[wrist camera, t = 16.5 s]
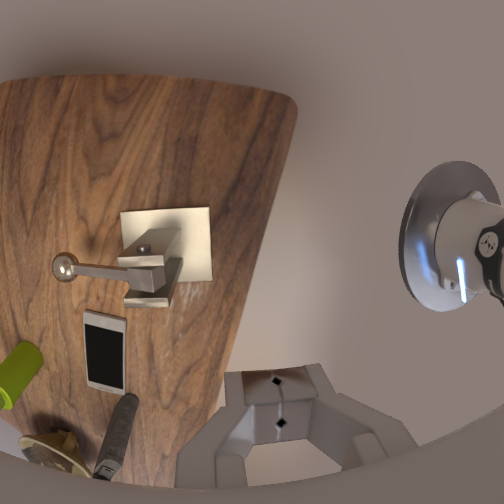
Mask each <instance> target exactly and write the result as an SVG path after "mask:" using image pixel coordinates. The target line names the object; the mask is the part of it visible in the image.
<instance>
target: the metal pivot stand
mask: <svg viewBox="0 0 504 504" xmlns="http://www.w3.org/2000/svg"><path fill="white" fill-rule="evenodd" d="M120 217H121V228H122V238H123V248H124V251H123V252H122V253H121V254H120V255H119V256H117V262H118V267H127V268H128V267H144V266H164V270H165V280H166V284H165V285H164V286H162V287H161V288H160V289H158V290H157V291H156V292H154V293H152V292H144V291H137V290H130V289H129V291H128V292H127V294H126V295H125V296H124V298H123V301H124V307H125V308H158V307H169V305H170V302H171V299H172V296H173V293H174V290H175V287H176V284H177V282H195V281H213V273H212V254H211V233H210V208H209V206H197V207H178V208H161V209H145V210H131V211H122V212H120ZM128 284H129V281H128Z"/></svg>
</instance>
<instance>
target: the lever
mask: <svg viewBox="0 0 504 504" xmlns="http://www.w3.org/2000/svg"><path fill="white" fill-rule="evenodd" d="M52 272H53V275H54V276H55V278H56V279H57V280H59V281H61V282H64V283H68V282H71V281H73V280H74V279H75V278H76V277H77V276H78V275H83V276H90V277H98V278H106V279H114V280H122V281H129V285H130V290H137V291H144V292H152V293H154V292H156V291H157V290H158V289H160V288H161V287H162V286H164V285H165V284H166V280H165V270H164V266H144V267H128V268H127V267H116V266H105V265H95V264H85V263H79V261H78V259H77V258H76V256H75V255H73V254H72V253H70V252H61V253H59V254H58V255H56V257H55V258H54V260H53V262H52Z"/></svg>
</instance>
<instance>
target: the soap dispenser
mask: <svg viewBox="0 0 504 504" xmlns="http://www.w3.org/2000/svg"><path fill="white" fill-rule="evenodd" d="M42 364H43V357H42V355H41V353H40V351H39V350H38V348H37V347H36V346H35V345H33V344H32V343H30V342H28V341H22V342H21V343H20V344H19V345H18V346H17V347H16V348H15V349H14V350H13V351H12V352H11V353H10V355H9V356H8V357H7V358H6V359H5V360H4V361H3V362H2V363H1V364H0V410H1V409H2V408H4V409H7V410H9V409H11V408H12V407H13V405H14V404H15V402H16V401H17V399H18V398H19V397H20V395H21V394H22V392H23V391H24V389H25V388H26V387H27V385H28V384H29V382H30V381H31V380H32V378H33V377H34V375H35V374H36V373H37V371H38V370H39V369H40V367H41V366H42Z"/></svg>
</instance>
